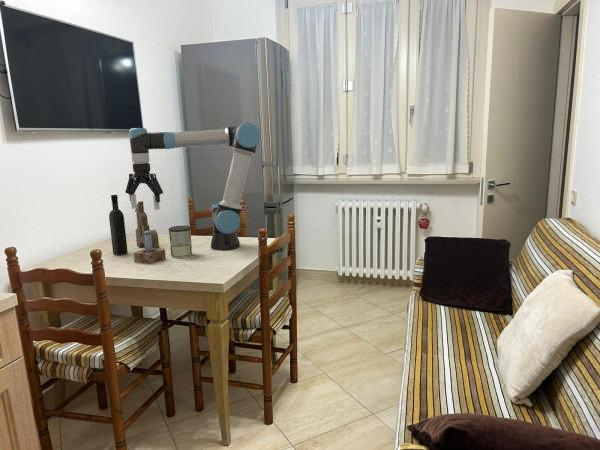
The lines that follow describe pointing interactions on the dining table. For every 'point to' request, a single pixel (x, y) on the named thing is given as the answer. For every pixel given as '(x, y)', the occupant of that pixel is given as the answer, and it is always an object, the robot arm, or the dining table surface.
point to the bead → (149, 256)
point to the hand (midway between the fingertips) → (145, 209)
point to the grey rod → (148, 241)
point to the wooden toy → (144, 228)
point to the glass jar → (180, 241)
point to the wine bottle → (117, 228)
